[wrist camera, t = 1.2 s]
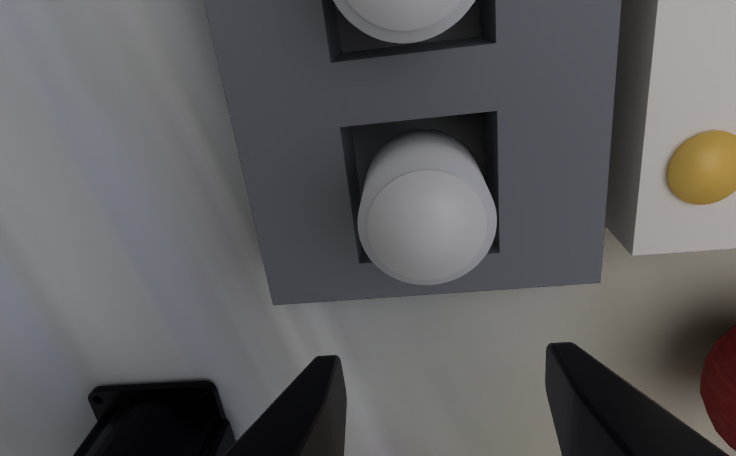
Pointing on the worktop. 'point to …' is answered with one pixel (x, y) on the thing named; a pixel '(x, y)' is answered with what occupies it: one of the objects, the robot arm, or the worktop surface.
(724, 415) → the onion
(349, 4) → the button
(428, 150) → the button
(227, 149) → the worktop surface
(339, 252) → the board
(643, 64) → the tile
